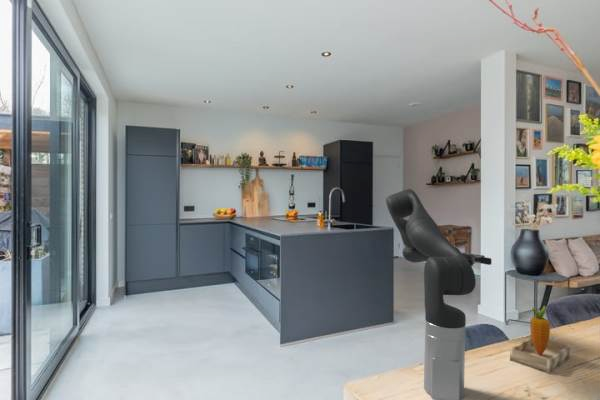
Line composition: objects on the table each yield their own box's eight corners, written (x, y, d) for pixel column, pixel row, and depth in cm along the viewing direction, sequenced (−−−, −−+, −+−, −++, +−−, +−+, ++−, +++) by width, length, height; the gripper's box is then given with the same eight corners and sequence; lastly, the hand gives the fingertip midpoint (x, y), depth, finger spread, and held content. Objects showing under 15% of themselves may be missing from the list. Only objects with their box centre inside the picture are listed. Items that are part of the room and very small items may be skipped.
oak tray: (549, 373, 97) (549, 361, 97) (510, 360, 104) (510, 348, 104) (570, 357, 107) (570, 345, 107) (533, 346, 115) (533, 335, 115)
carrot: (531, 356, 105) (531, 307, 105) (529, 350, 109) (529, 302, 109) (551, 360, 103) (551, 309, 103) (548, 353, 107) (548, 305, 107)
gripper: (430, 245, 129) (466, 251, 114) (458, 244, 134) (496, 250, 119) (429, 266, 129) (466, 274, 114) (458, 264, 134) (496, 272, 119)
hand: (481, 262), depth 117 cm, fingers open, 8 cm apart
